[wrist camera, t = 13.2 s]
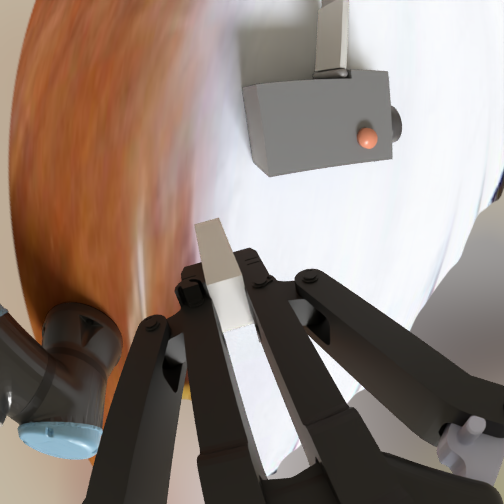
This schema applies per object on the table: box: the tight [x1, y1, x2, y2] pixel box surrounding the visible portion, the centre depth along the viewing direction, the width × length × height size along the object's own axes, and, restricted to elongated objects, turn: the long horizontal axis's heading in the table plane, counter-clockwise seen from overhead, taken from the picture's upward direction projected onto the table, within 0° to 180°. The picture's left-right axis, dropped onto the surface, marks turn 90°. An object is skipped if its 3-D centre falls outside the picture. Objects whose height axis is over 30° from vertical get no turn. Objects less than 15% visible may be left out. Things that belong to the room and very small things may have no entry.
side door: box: [313, 0, 349, 79], centre depth 27 cm, size 16×1×8 cm, turn 176°
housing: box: [242, 70, 402, 177], centre depth 33 cm, size 19×11×9 cm, turn 98°
